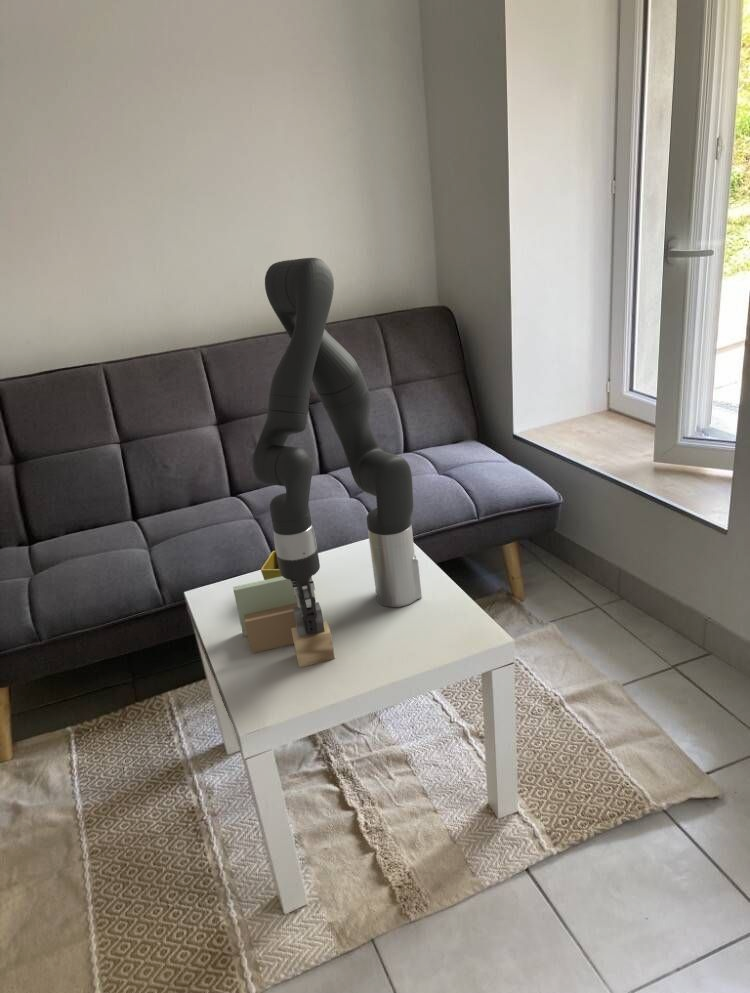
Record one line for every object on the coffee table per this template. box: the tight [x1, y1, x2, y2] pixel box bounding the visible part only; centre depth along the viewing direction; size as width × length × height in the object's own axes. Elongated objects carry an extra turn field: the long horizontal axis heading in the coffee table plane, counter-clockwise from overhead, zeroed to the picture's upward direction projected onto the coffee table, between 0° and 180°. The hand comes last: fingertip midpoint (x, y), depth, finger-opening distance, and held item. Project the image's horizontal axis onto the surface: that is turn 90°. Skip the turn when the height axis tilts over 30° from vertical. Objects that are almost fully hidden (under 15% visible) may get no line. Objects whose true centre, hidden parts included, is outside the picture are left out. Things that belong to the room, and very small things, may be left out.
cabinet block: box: [291, 601, 336, 668], centre depth 152 cm, size 7×5×11 cm, turn 104°
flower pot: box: [260, 550, 282, 580], centre depth 176 cm, size 9×9×9 cm
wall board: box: [232, 576, 312, 654], centre depth 161 cm, size 16×9×11 cm, turn 104°
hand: (310, 627), depth 152 cm, fingers closed on cabinet block, 2 cm apart
